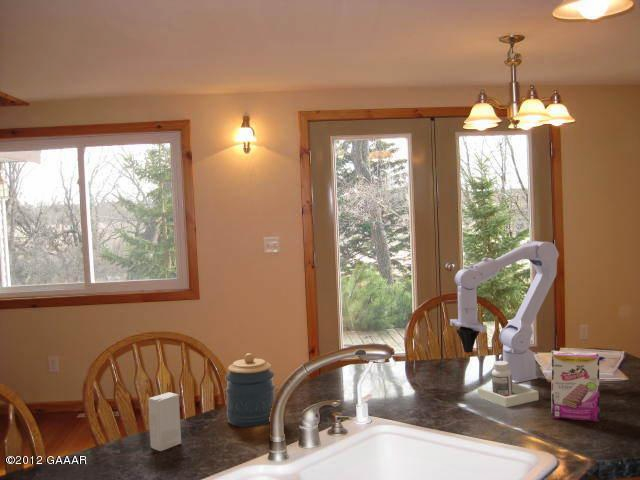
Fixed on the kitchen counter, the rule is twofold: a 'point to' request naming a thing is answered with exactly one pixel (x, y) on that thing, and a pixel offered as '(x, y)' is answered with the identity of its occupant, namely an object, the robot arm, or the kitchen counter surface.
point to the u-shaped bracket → (521, 396)
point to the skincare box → (164, 421)
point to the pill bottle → (502, 379)
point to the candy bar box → (575, 385)
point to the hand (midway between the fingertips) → (468, 352)
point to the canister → (249, 392)
